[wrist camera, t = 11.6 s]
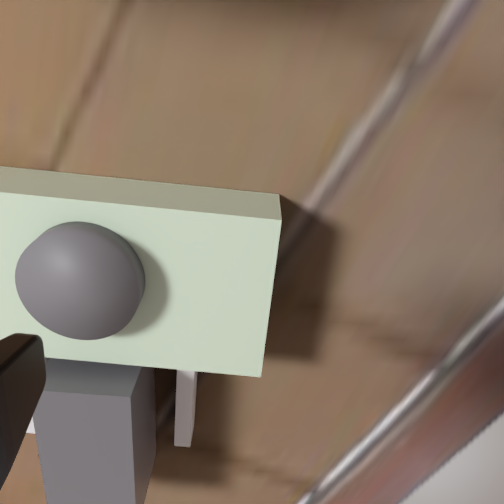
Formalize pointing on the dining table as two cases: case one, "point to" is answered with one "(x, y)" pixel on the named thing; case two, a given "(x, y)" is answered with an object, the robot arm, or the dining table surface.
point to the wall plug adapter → (139, 274)
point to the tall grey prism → (96, 432)
